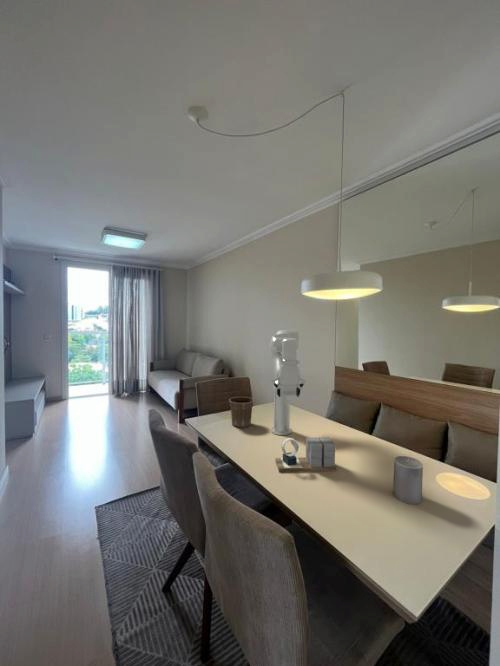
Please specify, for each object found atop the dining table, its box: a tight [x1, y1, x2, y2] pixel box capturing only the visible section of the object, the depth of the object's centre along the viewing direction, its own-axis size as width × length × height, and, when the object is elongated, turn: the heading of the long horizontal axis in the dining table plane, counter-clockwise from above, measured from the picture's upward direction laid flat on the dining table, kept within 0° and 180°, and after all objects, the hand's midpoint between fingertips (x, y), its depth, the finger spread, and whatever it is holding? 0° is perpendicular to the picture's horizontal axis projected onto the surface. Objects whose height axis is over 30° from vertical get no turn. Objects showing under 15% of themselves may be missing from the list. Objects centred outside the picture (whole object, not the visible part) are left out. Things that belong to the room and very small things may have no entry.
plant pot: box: [228, 396, 255, 428], centre depth 184 cm, size 16×16×16 cm
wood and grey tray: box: [274, 437, 337, 473], centre depth 131 cm, size 10×26×12 cm, turn 94°
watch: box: [280, 437, 300, 466], centre depth 131 cm, size 6×8×11 cm
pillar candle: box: [392, 455, 424, 505], centre depth 109 cm, size 10×10×15 cm
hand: (288, 396), depth 146 cm, fingers open, 9 cm apart
